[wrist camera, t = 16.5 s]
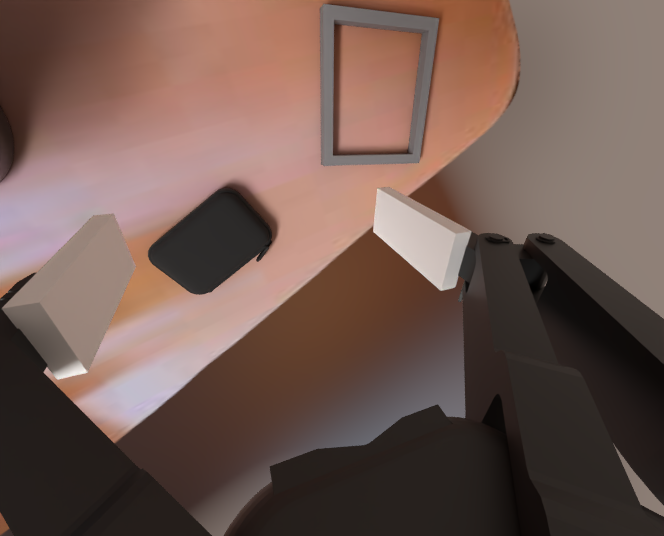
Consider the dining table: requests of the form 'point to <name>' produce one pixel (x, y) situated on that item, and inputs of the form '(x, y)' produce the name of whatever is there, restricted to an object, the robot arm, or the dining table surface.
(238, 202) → the carrying case or bag
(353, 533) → the robot arm
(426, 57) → the gray rectangular frame
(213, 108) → the dining table surface
